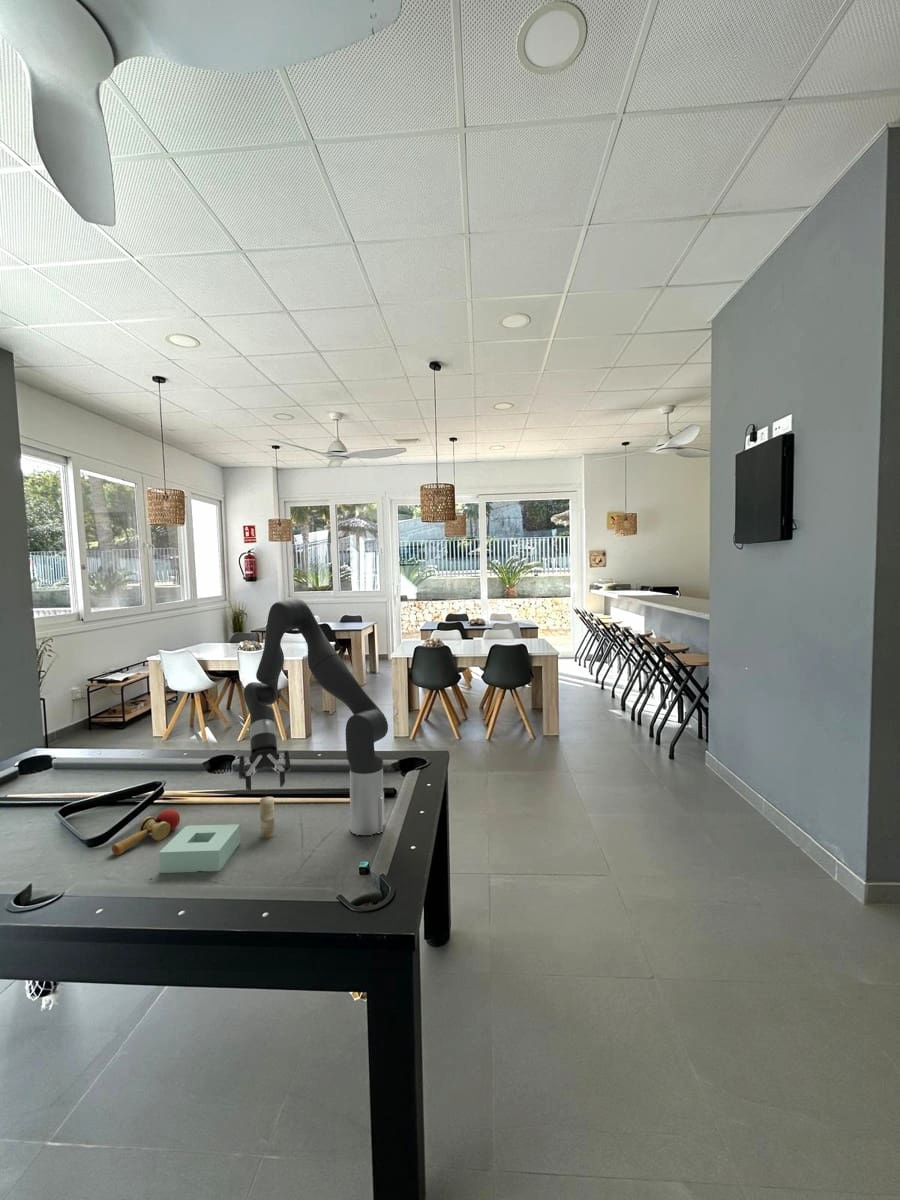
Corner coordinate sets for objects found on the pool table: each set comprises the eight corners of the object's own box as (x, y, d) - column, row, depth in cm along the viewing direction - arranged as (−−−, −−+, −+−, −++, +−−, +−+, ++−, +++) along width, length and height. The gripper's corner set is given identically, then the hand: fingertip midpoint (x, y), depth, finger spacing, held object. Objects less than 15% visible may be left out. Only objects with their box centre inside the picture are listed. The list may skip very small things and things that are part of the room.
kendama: (129, 864, 131) (189, 824, 147) (122, 840, 130) (183, 803, 147) (110, 863, 134) (170, 824, 150) (103, 840, 133) (164, 804, 150)
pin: (275, 832, 144) (275, 796, 144) (272, 838, 141) (271, 801, 141) (262, 832, 144) (262, 796, 144) (258, 838, 141) (258, 802, 140)
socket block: (240, 842, 138) (239, 824, 138) (219, 871, 124) (219, 850, 124) (186, 844, 137) (186, 825, 137) (159, 873, 123) (159, 852, 123)
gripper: (238, 734, 154) (239, 785, 143) (288, 729, 159) (292, 778, 149) (238, 747, 159) (239, 797, 148) (286, 741, 164) (290, 790, 154)
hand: (265, 788), depth 148 cm, fingers open, 8 cm apart
